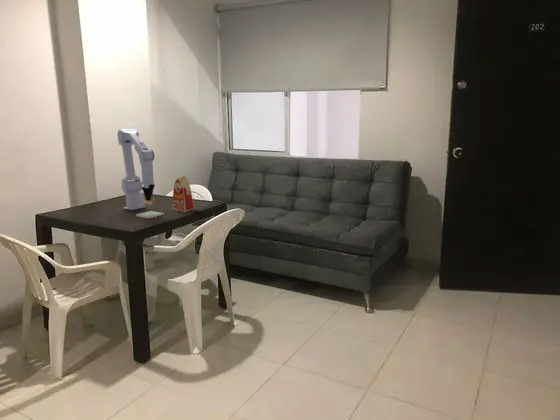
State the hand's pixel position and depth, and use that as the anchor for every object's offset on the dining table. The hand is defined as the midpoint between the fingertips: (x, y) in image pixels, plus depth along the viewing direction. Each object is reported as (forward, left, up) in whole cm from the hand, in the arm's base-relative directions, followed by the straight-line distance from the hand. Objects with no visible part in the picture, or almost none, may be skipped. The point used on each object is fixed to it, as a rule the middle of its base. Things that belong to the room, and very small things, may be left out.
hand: (149, 199), depth 243 cm
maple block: (0, 0, -2) cm, 2 cm away
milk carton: (-19, +5, -9) cm, 22 cm away
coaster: (0, 0, -9) cm, 9 cm away
